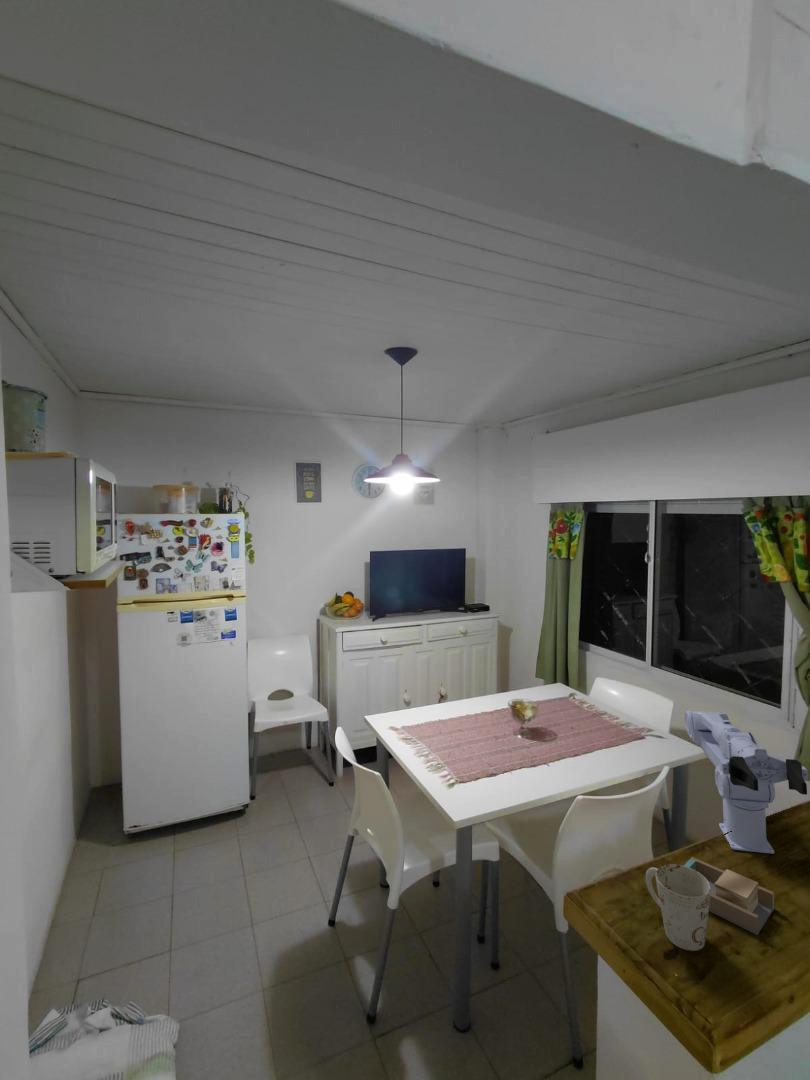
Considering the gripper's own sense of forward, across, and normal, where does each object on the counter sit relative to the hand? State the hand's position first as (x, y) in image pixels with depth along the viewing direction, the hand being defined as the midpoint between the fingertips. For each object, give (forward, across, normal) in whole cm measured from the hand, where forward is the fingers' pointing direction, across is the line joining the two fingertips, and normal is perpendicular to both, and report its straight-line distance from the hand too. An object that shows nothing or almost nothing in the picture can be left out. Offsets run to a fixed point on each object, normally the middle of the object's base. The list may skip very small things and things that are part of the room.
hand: (780, 787), depth 95 cm
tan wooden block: (+1, -8, +21) cm, 23 cm away
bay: (0, -10, +22) cm, 24 cm away
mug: (+8, -20, +23) cm, 32 cm away
